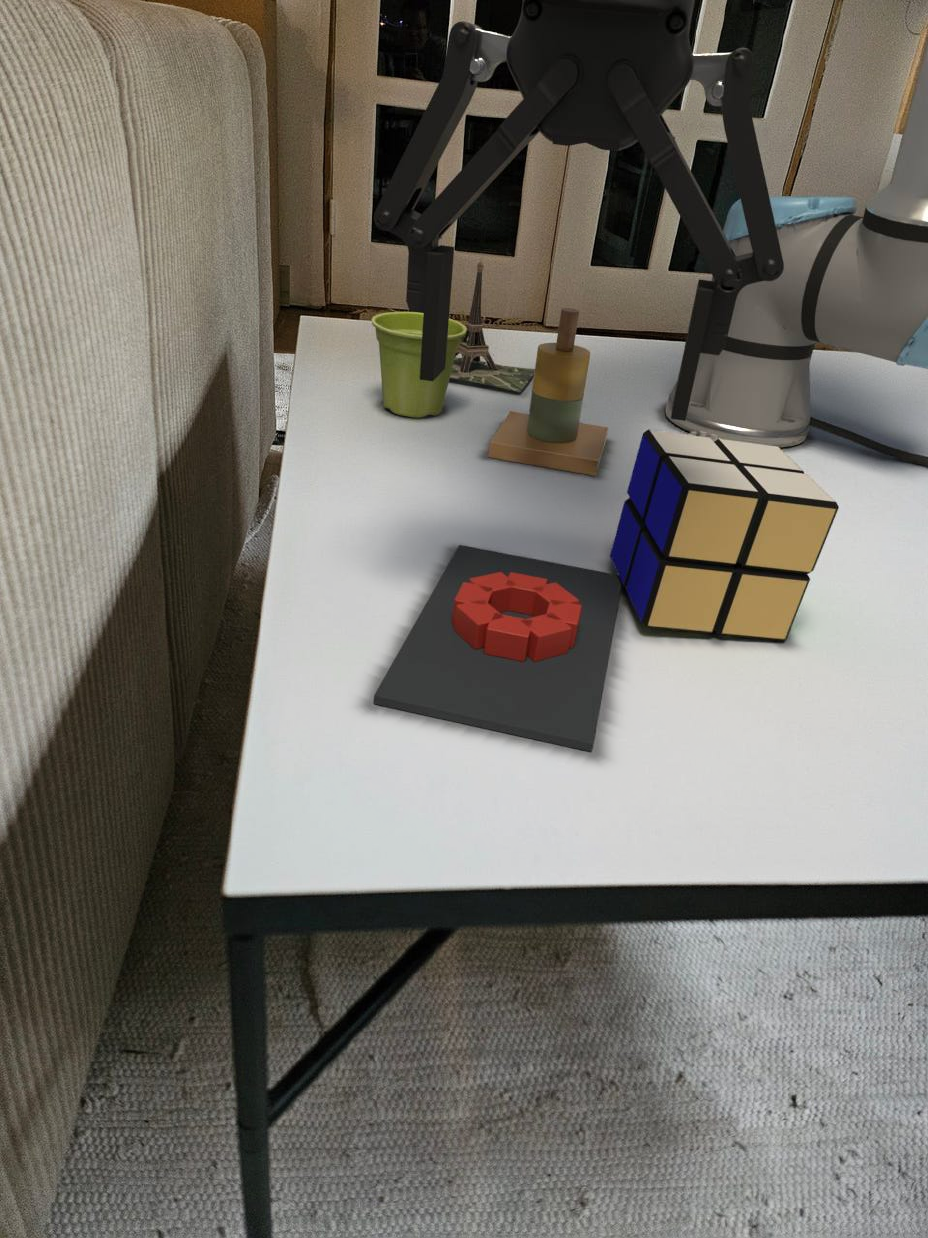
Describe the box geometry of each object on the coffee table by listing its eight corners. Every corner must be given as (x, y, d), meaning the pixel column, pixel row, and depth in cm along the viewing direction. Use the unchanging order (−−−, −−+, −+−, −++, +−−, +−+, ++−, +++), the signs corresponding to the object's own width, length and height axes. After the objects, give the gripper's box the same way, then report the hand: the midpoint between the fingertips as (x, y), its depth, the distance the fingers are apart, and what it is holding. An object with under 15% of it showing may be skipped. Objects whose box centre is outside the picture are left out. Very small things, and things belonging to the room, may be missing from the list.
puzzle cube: (607, 557, 66) (642, 426, 61) (736, 572, 68) (780, 445, 63) (641, 629, 58) (685, 484, 53) (787, 644, 59) (844, 504, 54)
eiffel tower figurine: (392, 373, 104) (399, 249, 97) (419, 353, 113) (427, 238, 106) (519, 395, 101) (536, 269, 94) (537, 373, 110) (553, 256, 103)
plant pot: (462, 401, 98) (471, 318, 93) (453, 429, 89) (461, 340, 85) (376, 390, 98) (381, 307, 93) (359, 417, 90) (363, 327, 85)
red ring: (582, 610, 59) (586, 586, 58) (567, 671, 53) (572, 645, 52) (469, 588, 60) (472, 564, 60) (441, 645, 54) (444, 619, 53)
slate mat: (621, 582, 65) (623, 575, 64) (591, 752, 48) (593, 743, 47) (458, 551, 66) (459, 544, 66) (373, 704, 49) (373, 695, 49)
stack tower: (605, 441, 91) (630, 307, 84) (595, 476, 82) (622, 329, 76) (508, 425, 92) (524, 291, 86) (487, 457, 84) (504, 312, 77)
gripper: (913, -65, 40) (783, 408, 51) (368, -104, 43) (357, 343, 54) (951, -94, 33) (793, 453, 44) (310, -138, 37) (311, 376, 48)
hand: (553, 393), depth 49 cm, fingers open, 13 cm apart
